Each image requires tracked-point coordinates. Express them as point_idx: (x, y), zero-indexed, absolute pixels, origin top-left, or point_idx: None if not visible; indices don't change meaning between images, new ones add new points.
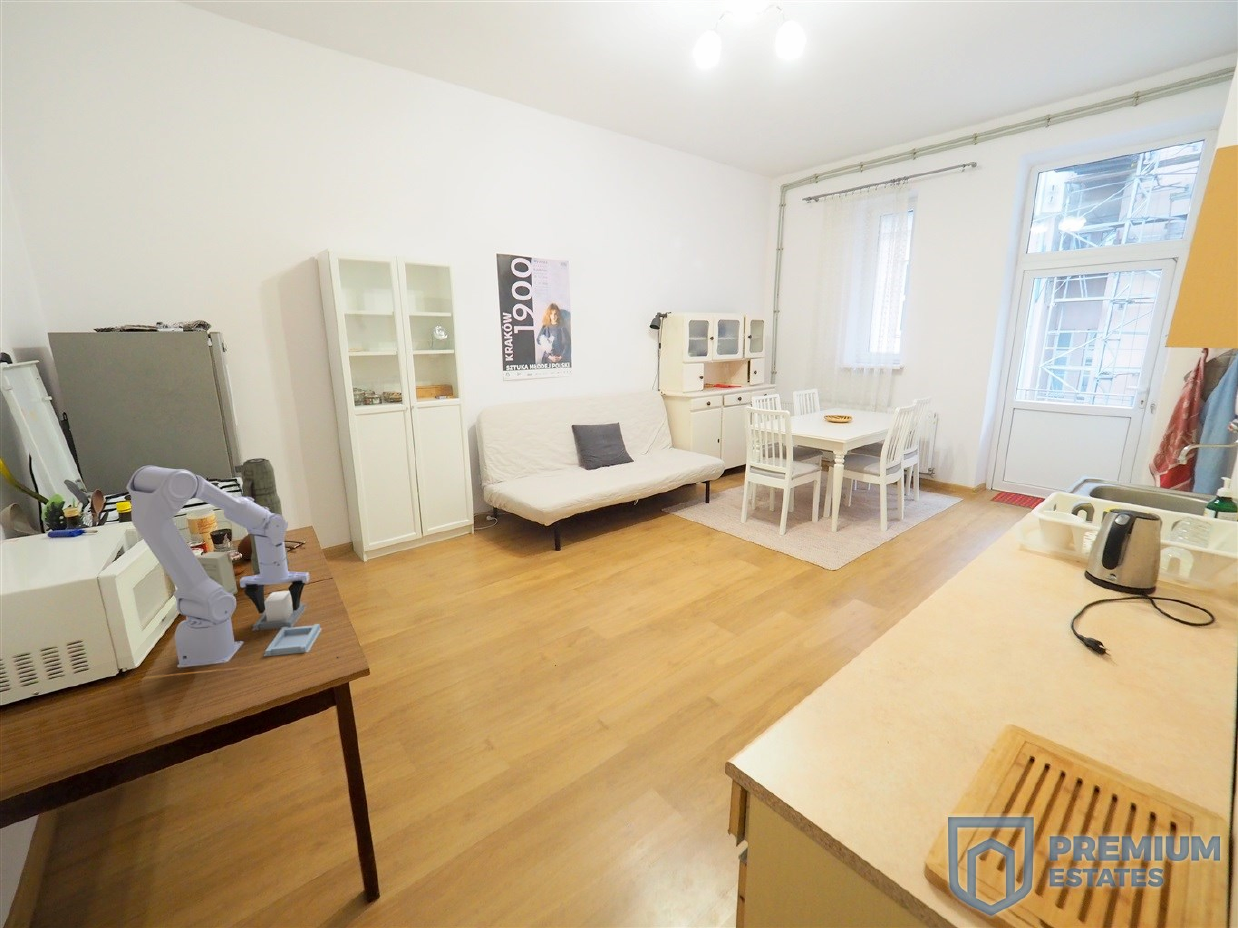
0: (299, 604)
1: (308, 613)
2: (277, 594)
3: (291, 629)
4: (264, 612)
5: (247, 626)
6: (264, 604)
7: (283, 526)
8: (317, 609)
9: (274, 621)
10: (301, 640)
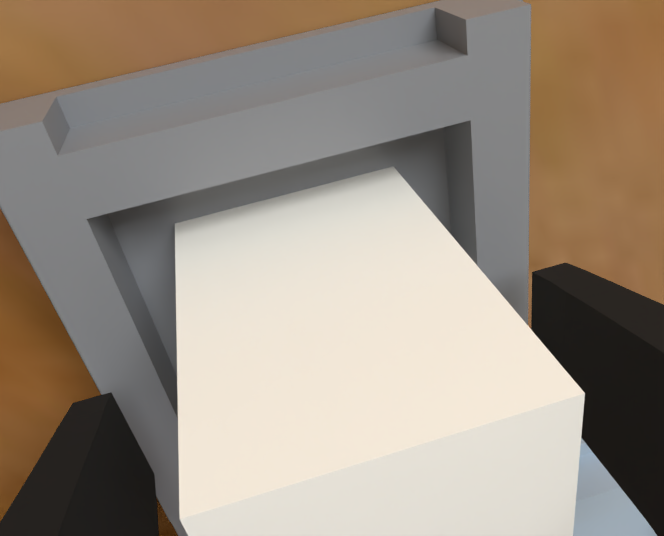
0: (589, 277)
1: (568, 140)
2: None
3: (574, 523)
4: (85, 349)
5: (34, 453)
6: (106, 468)
7: None
8: (651, 29)
9: None
10: (636, 523)
